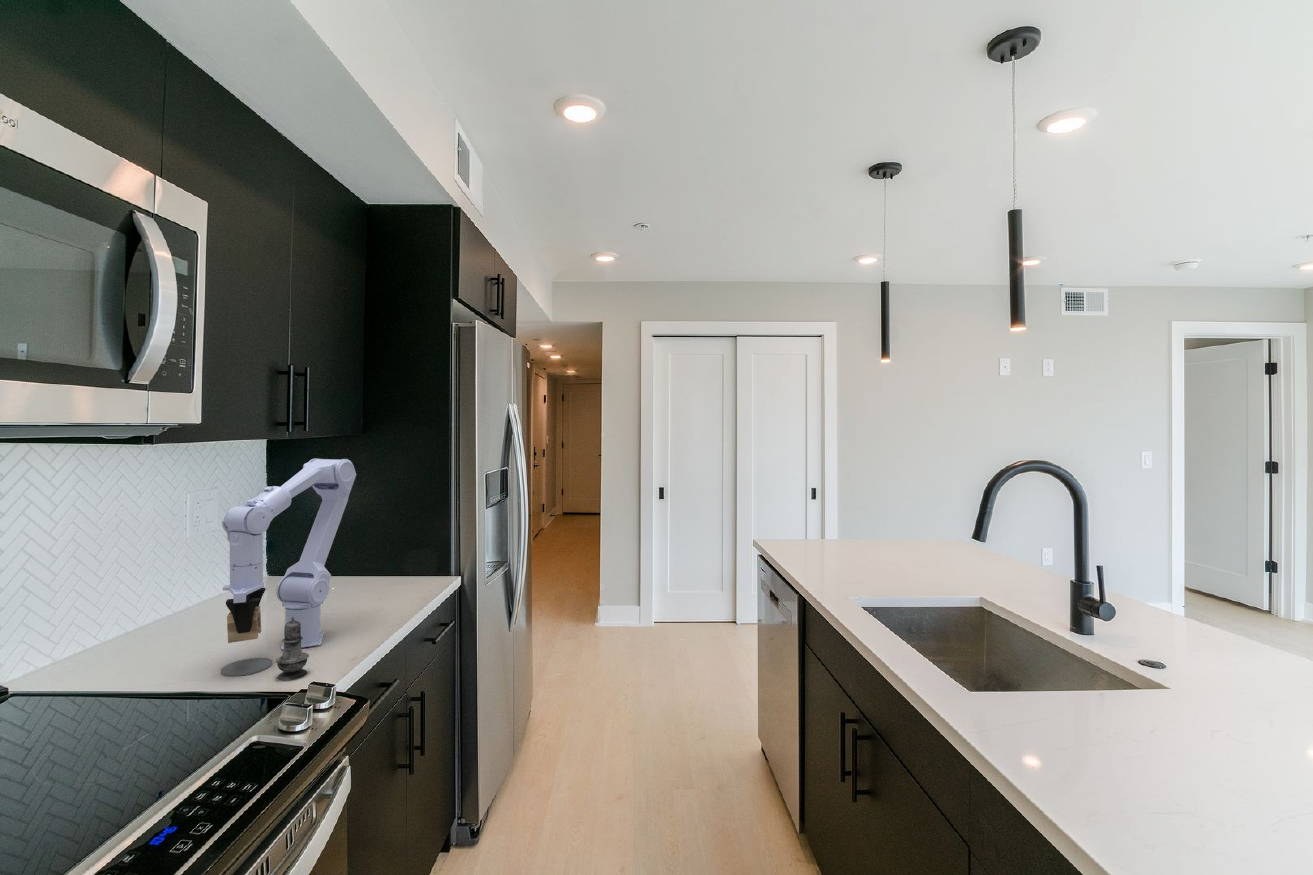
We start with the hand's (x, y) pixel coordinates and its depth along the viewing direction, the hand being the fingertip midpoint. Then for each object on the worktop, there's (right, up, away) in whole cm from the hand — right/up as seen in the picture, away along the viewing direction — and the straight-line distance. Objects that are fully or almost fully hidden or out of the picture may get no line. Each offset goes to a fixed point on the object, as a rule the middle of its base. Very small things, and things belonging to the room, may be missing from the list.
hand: (246, 628), depth 125 cm
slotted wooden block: (0, -2, 0) cm, 2 cm away
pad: (0, -8, 0) cm, 8 cm away
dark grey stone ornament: (+12, -9, -3) cm, 15 cm away
